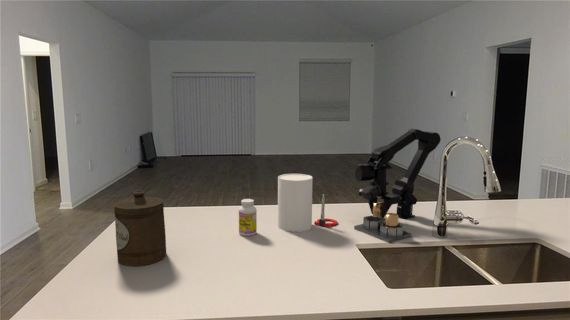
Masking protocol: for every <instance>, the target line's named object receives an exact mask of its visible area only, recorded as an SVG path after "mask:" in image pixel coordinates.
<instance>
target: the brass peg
mask: <svg viewBox="0 0 570 320" xmlns="http://www.w3.org/2000/svg"><path fill="white" fill-rule="evenodd" d="M380 203H381V201H377V202H373V214H372V216H379V217H382V205H381V204H380Z"/></svg>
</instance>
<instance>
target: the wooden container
mask: <svg viewBox="0 0 570 320" xmlns="http://www.w3.org/2000/svg"><path fill="white" fill-rule="evenodd" d="M132 194H133V197H130V198H124V199H120V200H118V201H116V202H114V204H113V209H114V211H113V212H114V219H115V224H114V225H115V241H116V242H115V245H116V255H117V257H116V258H117V261H118V263H119V264H120V265H123V266H131V267H139V266H147V265H151V264H155V263H157V262H159V261H162V260H163V259H164V258H165V257H166V256H167V242H166V241H167V238H166V225H165V224H166V223H165V210H164V209H165V208H164V206H165V205H164V200H163V199H162V198H160V197H154V196H145V191H143V190H142V189H136V190H134V192H133V193H132Z"/></svg>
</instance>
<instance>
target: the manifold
mask: <svg viewBox="0 0 570 320" xmlns="http://www.w3.org/2000/svg"><path fill="white" fill-rule="evenodd" d="M362 219H363V222H362V223H361V224H356V225H354V226H353V227H354V228H353V229H354V230H357V231H359V232H361V233H364V234H366V235H368V236H370V237H373V238H376V239H378V240H381V241H383V242H385V243H388V244H390V243H392V242H393V243H394V242H397V241H401V240H405V239H409V238H412V236H413V233H411V232H409V231H405V230H404V225H403V224H401V223H399V217H398V214H397V213H396V212H395V213H393V212H387V214H386V216H385V217H384V218H382V217H379V216H373V215H366V216H363V218H362Z"/></svg>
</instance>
